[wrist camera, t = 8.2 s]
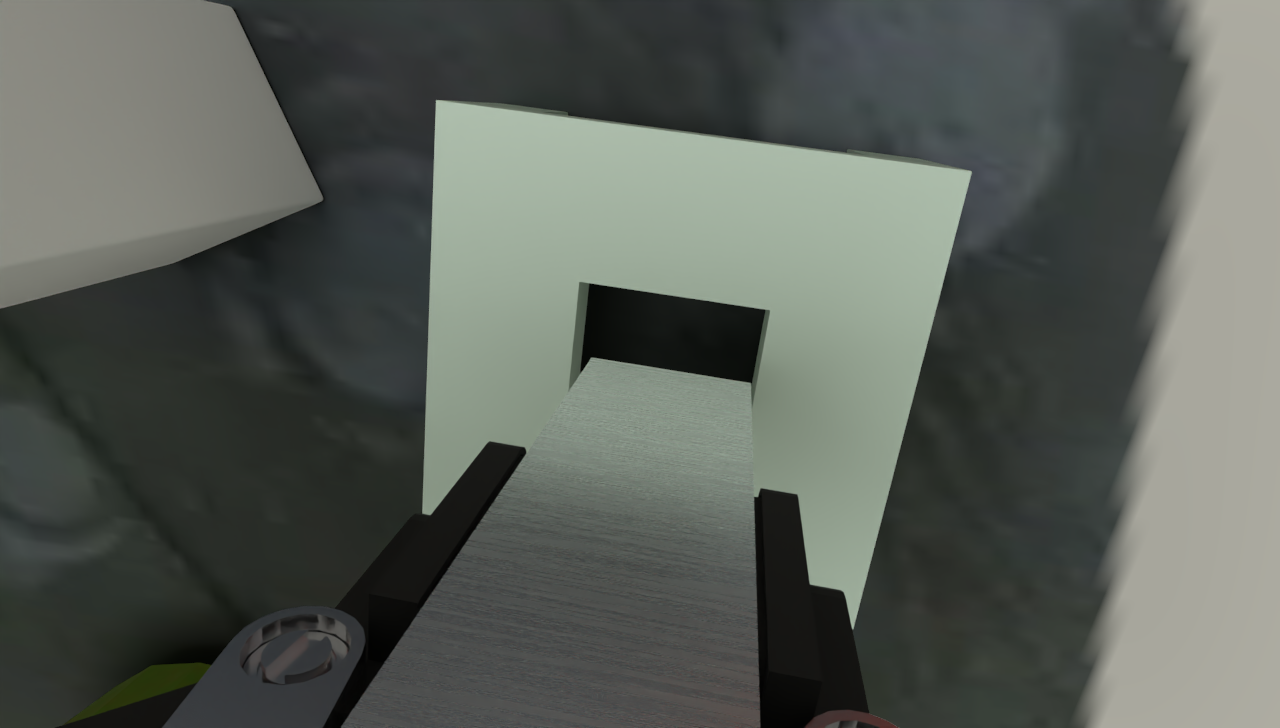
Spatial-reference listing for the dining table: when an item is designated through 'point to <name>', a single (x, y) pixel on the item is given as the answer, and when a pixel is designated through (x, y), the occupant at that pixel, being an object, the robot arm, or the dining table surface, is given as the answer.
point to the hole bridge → (689, 292)
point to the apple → (146, 686)
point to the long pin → (599, 574)
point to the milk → (132, 140)
